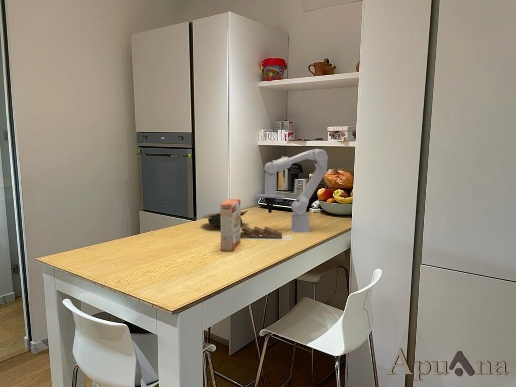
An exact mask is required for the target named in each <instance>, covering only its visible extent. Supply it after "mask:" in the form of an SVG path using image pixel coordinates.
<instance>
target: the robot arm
mask: <svg viewBox="0 0 516 387" xmlns="http://www.w3.org/2000/svg"><path fill="white" fill-rule="evenodd" d="M328 159H329V157H328V154H327V152H326V150H324V149H322V148H321V149H319V148H313V149H310V150H306V151H304V152H301V153H299V154H297V155H296V154H295V155H294V156H291V157H288V156H284V155H283V156H281V158H279V159H276V160H275V159H273V160H272V161H269V162H267V163H266V164H265V165H264V167H263V170H264V172H265V174H264V193H257V194H255V199H256V200H257V199H264V201H265V202H264V203H265V204H266V206H267V210H268V214H272V212H273V207H274V204H275V202H276V200H277V199H278V200H285V199H286V196H285V194H277V172H281V171H284V170H286V169H289V168H291V166H292V165H293V164H295V163H296V164H297V163H298V162H302V161H305V160H312V162H313V163H314V166H315V170H314V172H313V173H312V175H311V177H310V178H309V180H308V181H307V183H306V185H305V187H304V188H303V189H302V191H301V193H300V194H299V195H298V196H297V198H296V199H295V200H293V201H292V203H291V205H290V209H291V210H292V212H291V228H290V233H310V229H311V225H310V214H306V212H307V209H308V208H307V207H308V205H309V201H310V199H311V197H312V195H313V194H314V192H315V191H316V189H317V187H318V186H319V184H320V182H321V181H322V180H323V177H324V176H325V174H326V172H327V171H328Z"/></svg>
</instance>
